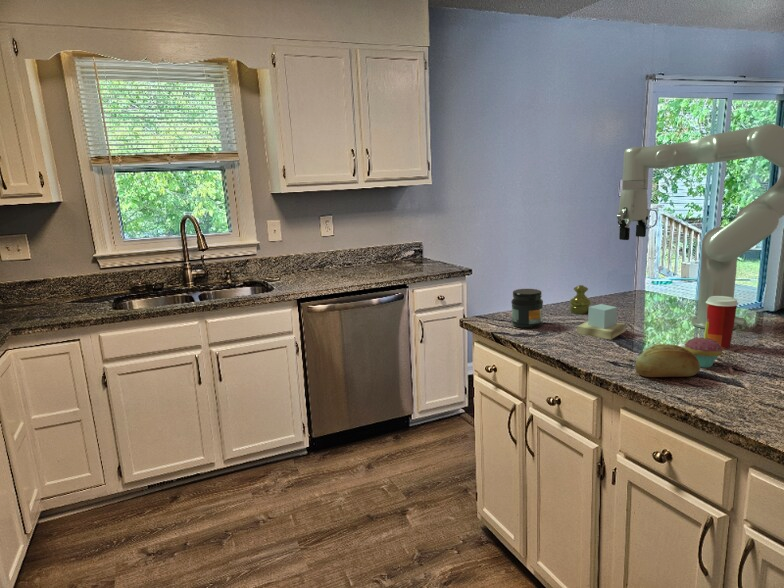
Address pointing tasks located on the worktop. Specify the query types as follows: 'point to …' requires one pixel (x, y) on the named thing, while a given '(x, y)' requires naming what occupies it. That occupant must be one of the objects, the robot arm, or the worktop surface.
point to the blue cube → (602, 316)
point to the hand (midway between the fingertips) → (632, 238)
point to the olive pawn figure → (580, 301)
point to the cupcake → (704, 349)
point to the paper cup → (721, 319)
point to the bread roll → (667, 362)
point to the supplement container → (527, 308)
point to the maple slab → (601, 330)
